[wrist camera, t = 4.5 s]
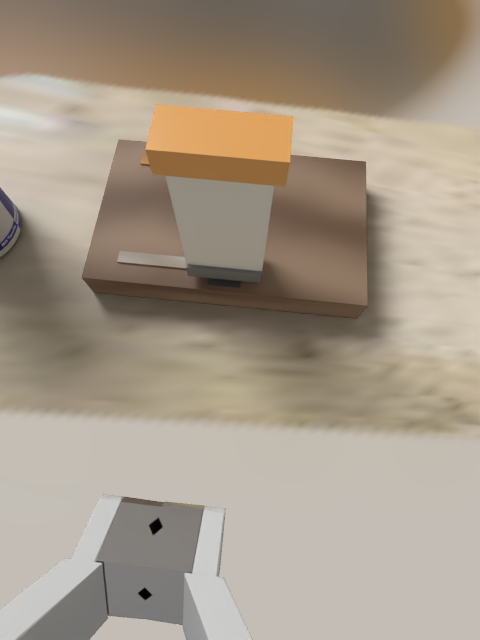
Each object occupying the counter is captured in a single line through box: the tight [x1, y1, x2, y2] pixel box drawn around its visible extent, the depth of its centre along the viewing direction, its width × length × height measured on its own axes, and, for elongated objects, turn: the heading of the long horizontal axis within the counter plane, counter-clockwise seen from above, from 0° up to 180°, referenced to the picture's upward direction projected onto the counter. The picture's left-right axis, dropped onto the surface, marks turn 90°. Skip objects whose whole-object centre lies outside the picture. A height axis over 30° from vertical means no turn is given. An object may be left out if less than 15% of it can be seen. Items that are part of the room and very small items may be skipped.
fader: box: [145, 104, 293, 283], centre depth 18 cm, size 2×5×9 cm, turn 85°
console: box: [82, 140, 368, 318], centre depth 24 cm, size 10×16×2 cm, turn 84°
